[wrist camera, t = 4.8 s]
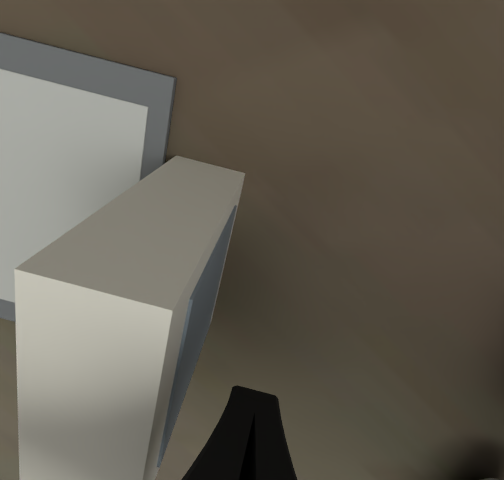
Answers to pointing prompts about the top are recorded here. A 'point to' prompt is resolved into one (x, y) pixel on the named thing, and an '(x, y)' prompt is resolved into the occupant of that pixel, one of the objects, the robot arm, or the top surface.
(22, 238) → the mat
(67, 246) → the card box
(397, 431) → the top surface
